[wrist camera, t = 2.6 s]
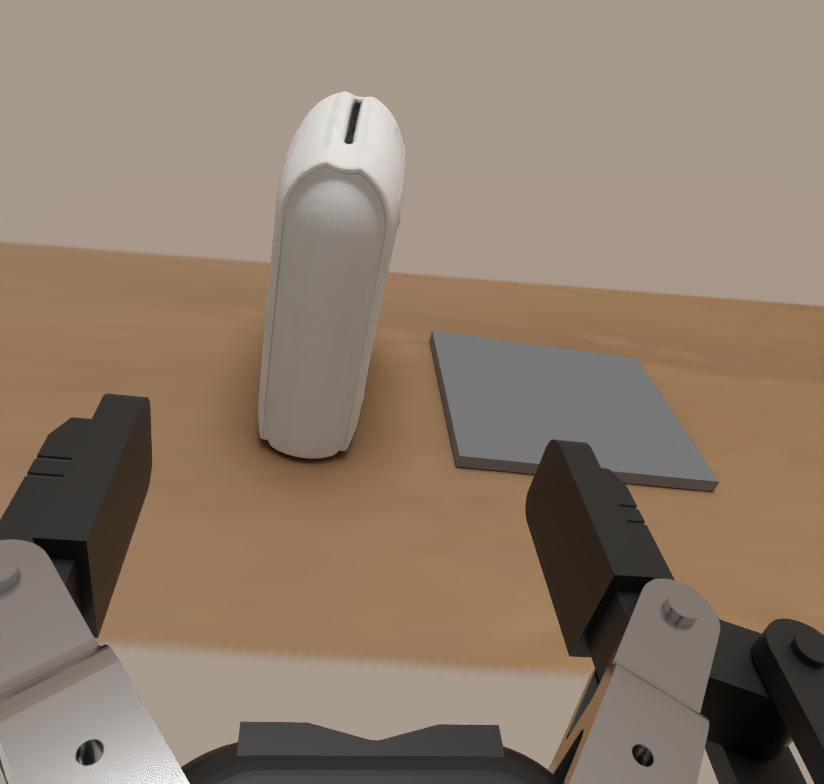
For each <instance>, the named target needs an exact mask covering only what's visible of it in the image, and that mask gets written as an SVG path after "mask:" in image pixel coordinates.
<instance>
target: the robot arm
mask: <svg viewBox="0 0 824 784" xmlns="http://www.w3.org/2000/svg"><path fill="white" fill-rule="evenodd" d="M151 469H152V444H151V414H150V401H149V399H148V398H147V397H137V396H127V395H117V394H105V395H104V396H103V398H102V400H101V402H100V404H99V406H98V408H97V410H96V412H95V414H94V416H93V418H92V419H82V418H70V419H69V420H67V421H66V422H65V423H63V424H62V425H61V426H59V427H58V428H57V429H55V430H54V431H53V432H51V433H50V434H49V435H48V437H47V439H46V440H45V442H44V444H43V446H42V447H41V449H40V451H39V453H38V455H37V459H35V460H34V462H33V463H32V465H31V467H30V469H29V470H28V474H27V477H26V476H25V477H24V479H23V481H22V483H21V484H20V486H19V488H18V490H17V492H16V493H15V495H14V497H13V499H12V500H11V502H10V504H9V506H8V507H7V509H6V511H5V513H4V514H3V516H2V518H1V520H0V773H1V775H2V778H3V780H4V783H5V784H697V779H698V775H699V770H700V766H701V762H702V757H703V753H704V748H705V749H706V752H707V754H708V757H709V760H710V762H711V765H712V767H713V770H714V772H715V775H716V777H717V780H718V782H719V784H807V783H806V781H805V779H804V777H803V775H802V773H801V771H800V769H799V767H798V765H797V763H796V761H795V759H794V757H793V755H792V753H791V751H790V748H789V747H788V745H789V744H790V743H791V742H792V741H794V743H795V745H796V747H797V749H798V751H799V753H800V755H801V757H802V759H803V761H804V763H805V765H806V767H807V769H808V771H809V773H810V775H811V777H812V779H813V782H814V784H824V635H823V634H821V633H820V632H818V631H817V630H815V629H814V628H812V627H810V626H808V625H806V624H804V623H801V622H799V621H795V620H791V619H777V620H775V621H772V622H771V623H770V624H769V625H768V627H767V628H766V629H765V630H764V631H763V633H762V634H761V633H758V632H755V631H752V630H749V629H746V628H743V627H740V626H737V625H734V624H731V623H728V622H725V621H722V620H720V619H718V616H717V614H716V612H715V610H714V609H713V608H712V606H711V605H710V604H709V602H708V601H707V600H706V599H705V598H704V597H703V596H702V595H701V594H699V593H698V592H697V591H695V590H694V589H692V588H691V587H689V586H687V585H685V584H683V583H681V582H678V581H675V580H674V578H673V576H672V574H671V572H670V570H669V568H668V566H667V564H666V562H665V560H664V558H663V556H662V554H661V552H660V550H659V548H658V546H657V545H656V543H655V541H654V539H653V537H652V535H651V533H650V531H649V529H648V527H647V525H644V522H645V521H644V519H643V517H642V515H641V513H640V511H639V510H637V509H636V506H637V505H636V504H635V502H634V500H633V498H632V496H631V494H630V492H629V490H628V488H627V486H626V485H625V484H624V483H623V482H622V481H621V480H620V479H619V478H618V477H617V476H616V475H615V474H614V473H613V472H612V471H611V470H610V469H607V468H601V467H600V465H599V463H598V461H597V459H596V456H595V454H594V452H593V450H592V448H591V446H590V445H589V444H588V443H585V442H575V441H565V440H555V439H553V440H551V441H550V442H549V443H548V444H547V446H546V448H545V451H544V453H543V456H542V458H541V461H540V463H539V466H538V468H537V471H536V473H535V476H534V478H533V481H532V483H531V486H530V488H529V491H528V494H527V498H526V519H527V523H528V526H529V529H530V533H531V536H532V539H533V542H534V545H535V548H536V552H537V555H538V558H539V561H540V564H541V568H542V571H543V574H544V577H545V580H546V583H547V587H548V590H549V593H550V596H551V599H552V602H553V606H554V609H555V612H556V615H557V618H558V622H559V625H560V628H561V631H562V634H563V637H564V641H565V644H566V647H567V650H568V653H569V656H574V657H592V660H593V663H594V666H595V669H594V671H593V672H592V674H591V676H590V677H589V679H588V682H587V684H586V686H585V689H584V691H583V693H582V696H581V698H580V700H579V702H578V705H577V707H576V709H575V712H574V714H573V716H572V718H571V721H570V723H569V725H568V728H567V730H566V732H565V734H564V737H563V739H562V741H561V744H560V746H559V748H558V750H557V753H556V755H555V757H554V759H553V761H552V763H551V765H550V766H549V768H548V770H547V769H546V768H544V767H543V766H542V765H540V764H539V763H538V762H536V761H534V760H532V759H530V758H529V757H527V756H525V755H523V754H521V753H519V752H516V751H514V750H512V749H509V748H506V747H503V745H502V740H501V735H500V730H499V726H498V725H435V726H431V727H428V728H424V729H420V730H417V731H413V732H409V733H405V734H402V735H398V736H395V737H391V738H387V739H383V740H378V741H376V740H374V741H373V740H368V739H364V738H360V737H357V736H353V735H349V734H346V733H343V732H339V731H336V730H332V729H328V728H324V727H321V726H318V725H314V724H310V723H294V722H293V723H292V722H241V723H240V731H239V740H238V742H237V743H233V744H230V745H226V746H222V747H220V748H217V749H215V750H212V751H210V752H207V753H205V754H203V755H201V756H199V757H198V758H196V759H194V760H192V761H190V762H189V763H187V764H186V765H184V766H183V767H181V768H180V766H179V764H178V762H177V761H176V759H175V757H174V755H173V754H172V752H171V750H170V748H169V747H168V745H167V743H166V741H165V740H164V738H163V736H162V734H161V733H160V731H159V729H158V727H157V726H156V724H155V722H154V721H153V719H152V717H151V715H150V714H149V712H148V710H147V709H146V707H145V705H144V703H143V701H142V700H141V698H140V696H139V695H138V693H137V691H136V689H135V687H134V686H133V684H132V682H131V680H130V679H129V677H128V675H127V673H126V672H125V670H124V668H123V666H122V665H121V663H120V661H119V659H118V658H117V656H116V655H115V653H114V652H113V650H112V649H111V648H110V647H109V646H108V645H103V646H100V645H99V644H98V643H97V641H96V640H95V638H98V636H99V633H100V630H101V627H102V624H103V621H104V618H105V615H106V612H107V609H108V606H109V603H110V600H111V597H112V595H113V592H114V589H115V586H116V583H117V580H118V577H119V574H120V571H121V568H122V565H123V562H124V559H125V556H126V553H127V550H128V547H129V544H130V541H131V538H132V535H133V532H134V529H135V526H136V523H137V520H138V517H139V514H140V512H141V509H142V506H143V503H144V500H145V497H146V494H147V491H148V487H149V482H150V477H151Z"/></svg>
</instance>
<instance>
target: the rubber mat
mask: <svg viewBox="0 0 824 784" xmlns="http://www.w3.org/2000/svg"><path fill="white" fill-rule="evenodd" d="M430 343H431V348H432V353H433V358H434V363H435V367H436V372H437V377H438V382H439V387H440V391H441V396H442V401H443V406H444V411H445V415H446V420H447V425H448V430H449V435H450V440H451V444H452V449H453V454H454V459H455V464H456V467H465V468H475V469H486V470H496V471H506V472H517V473H527V474H535V473H536V471H537V468H538V466H539V463H540V461H541V458H542V456H543V453H544V451H545V448H546V446H547V444H548V443H549V442H550V441H551V440H553V439H555V440H565V441H575V442H585V443H588V444H589V445H590V446H591V448H592V450H593V452H594V454H595V456H596V459H597V461H598V463H599V465H600V467H601V468H607V469H610V470H611V471H612V472H613V473H614V474H615V475H616V476H617V477H618V478H619V479H620V480H621V481H622V482H623V483H630V484H641V485H651V486H661V487H672V488H682V489H692V490H703V491H714V489H715V488H716V486H717V485H718V483H719V481H718V479H717V478H716V476H715V475H714V473H713V471H712V470H711V468H710V467H709V465H708V464H707V462H706V461H705V459H704V458H703V456H702V455H701V453H700V452H699V450H698V449H697V447H696V446H695V444H694V443H693V441H692V440H691V438H690V437H689V435H688V434H687V432H686V431H685V429H684V428H683V426H682V425H681V423H680V422H679V420H678V419H677V417H676V416H675V414H674V413H673V411H672V410H671V408H670V407H669V405H668V404H667V402H666V401H665V399H664V398H663V396H662V395H661V393H660V392H659V390H658V389H657V387H656V386H655V384H654V383H653V381H652V380H651V378H650V377H649V375H648V374H647V372H646V371H645V369H644V368H643V366H642V364H641V363H640V361H639V360H638V359H636V358H629V357H622V356H614V355H607V354H600V353H592V352H585V351H578V350H570V349H563V348H556V347H549V346H541V345H534V344H527V343H519V342H512V341H505V340H497V339H490V338H483V337H475V336H468V335H461V334H453V333H446V332H439V331H432V334H431V338H430Z"/></svg>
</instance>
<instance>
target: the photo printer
mask: <svg viewBox="0 0 824 784" xmlns="http://www.w3.org/2000/svg"><path fill="white" fill-rule="evenodd" d="M404 186H405V149H404V144H403V141H402V137H401V133H400V131H399V128H398V125H397V123H396V121H395V119H394V117H393V116H392V114H391V113H390V111H389V110H388V109H387V108H386V107H385V106H384V105H383V104H382V103H381V102H380V101H379V100H377V99H376V98H374V97H357V96H354V95H352V94H350V93H348V92H340V93H337V94H334V95H331V96H329V97H327V98H325V99H324V100H322V101H321V102H319V103H318V104H317V105H316V106H315V107H314V108H313V109H312V110H311V111H310V112H309V113H308V114H307V116H306V117H305V119H304V120H303V121H302V123H301V125H300V127H299V128H298V130H297V132H296V134H295V136H294V138H293V141H292V143H291V146H290V148H289V151H288V154H287V157H286V160H285V163H284V166H283V170H282V174H281V177H280V182H279V187H278V194H277V203H276V215H275V225H274V235H273V246H272V256H271V266H270V277H269V288H268V298H267V309H266V320H265V330H264V342H263V353H262V364H261V377H260V389H259V403H258V425H259V434H260V438H261V439H264V440H268V441H269V444H270V445H271V447H273V448H274V449H276V450H278V451H280V452H282V453H285V454H287V455H291V456H295V457H300V458H310V459H318V458H326V457H330V456H333V455H335V454H336V453H337V452H338V451H346V450H347V448H348V446H349V444H350V442H351V440H352V438H353V435H354V432H355V430H356V427H357V424H358V420H359V416H360V410H361V405H362V402H363V400H364V390H365V384H366V379H367V374H368V369H369V363H370V358H371V353H372V348H373V343H374V338H375V333H376V328H377V323H378V318H379V313H380V308H381V304H382V299H383V294H384V289H385V284H386V279H387V274H388V270H389V265H390V260H391V256H392V251H393V246H394V241H395V237H396V232H397V229H398V226H399V224H400V214H401V207H402V202H403V196H404Z"/></svg>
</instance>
